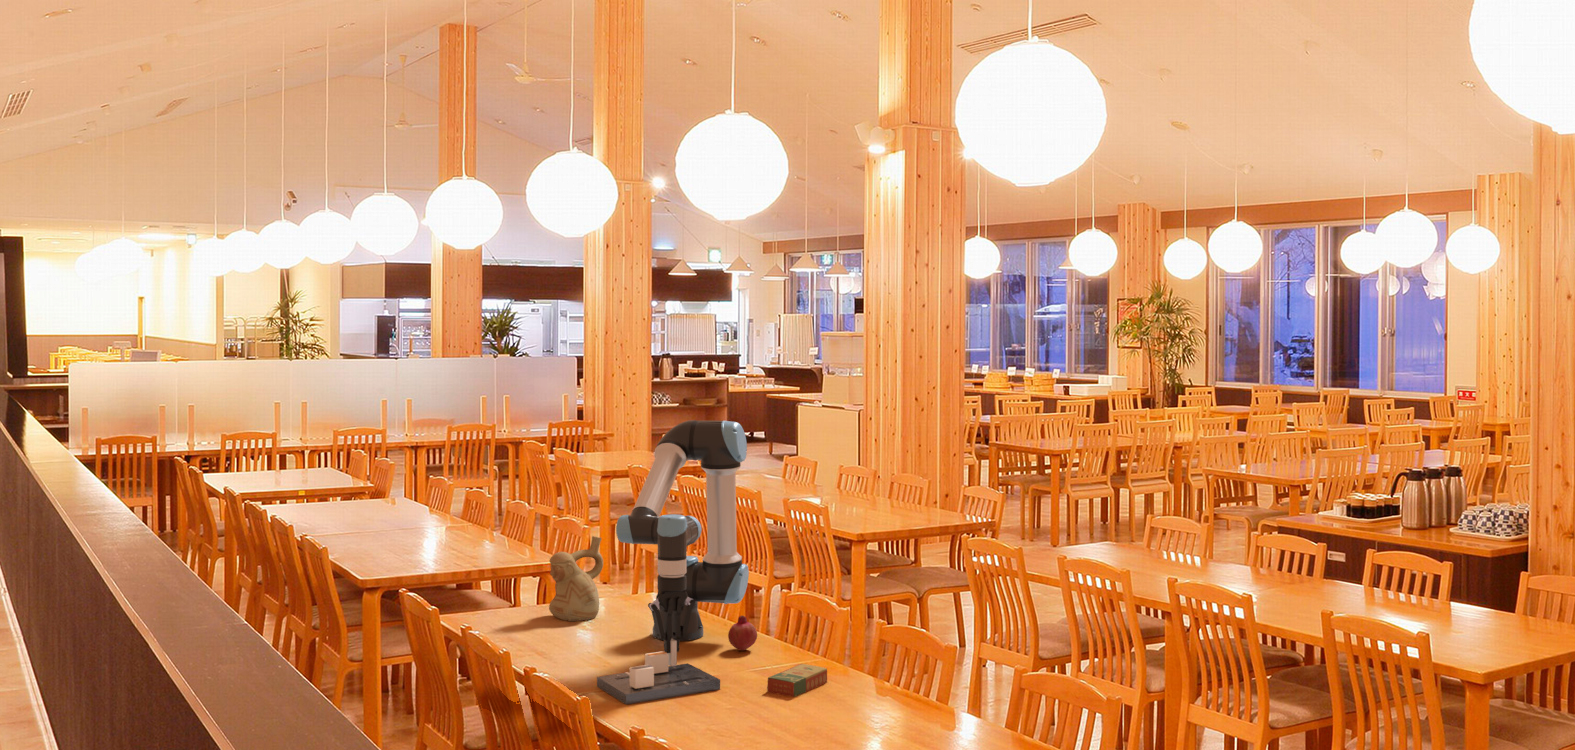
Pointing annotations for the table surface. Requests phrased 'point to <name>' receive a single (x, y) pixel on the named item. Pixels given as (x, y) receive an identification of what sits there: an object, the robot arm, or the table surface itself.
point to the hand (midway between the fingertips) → (671, 664)
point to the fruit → (742, 634)
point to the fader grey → (641, 676)
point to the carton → (797, 680)
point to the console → (660, 684)
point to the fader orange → (657, 661)
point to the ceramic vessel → (575, 584)
